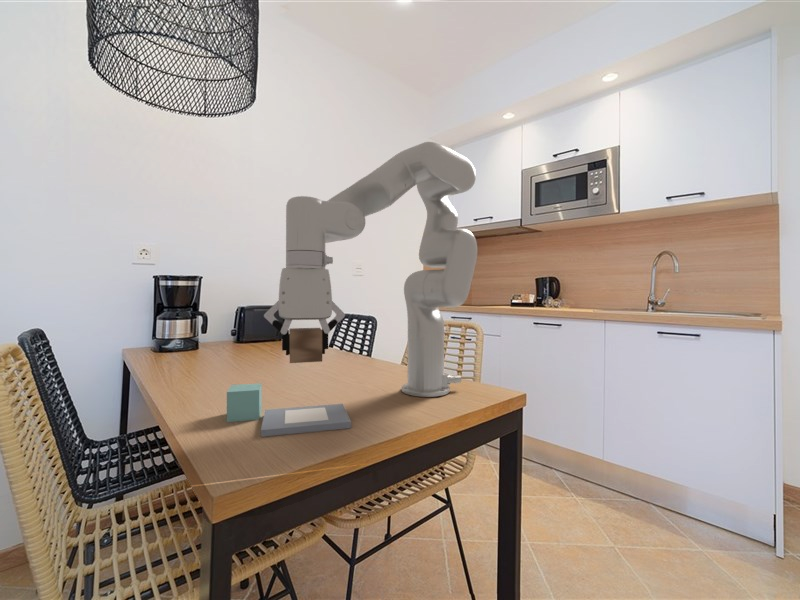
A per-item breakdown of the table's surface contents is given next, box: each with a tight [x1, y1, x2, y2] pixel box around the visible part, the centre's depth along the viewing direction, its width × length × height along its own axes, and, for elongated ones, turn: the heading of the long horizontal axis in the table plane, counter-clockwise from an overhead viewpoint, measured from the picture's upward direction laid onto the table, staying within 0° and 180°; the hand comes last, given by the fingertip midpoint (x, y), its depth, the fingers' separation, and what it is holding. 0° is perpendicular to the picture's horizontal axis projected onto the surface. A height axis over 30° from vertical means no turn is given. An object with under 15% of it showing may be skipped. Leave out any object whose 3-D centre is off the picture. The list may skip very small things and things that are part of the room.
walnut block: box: [288, 327, 323, 364], centre depth 74 cm, size 6×6×6 cm
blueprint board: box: [260, 403, 352, 438], centre depth 74 cm, size 16×12×1 cm
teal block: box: [226, 382, 263, 423], centre depth 77 cm, size 6×6×6 cm
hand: (305, 352), depth 74 cm, fingers closed on walnut block, 6 cm apart
